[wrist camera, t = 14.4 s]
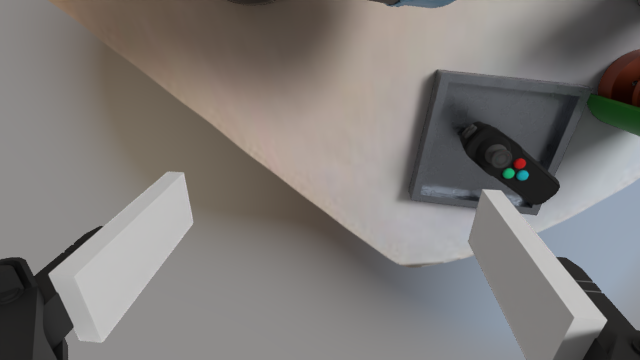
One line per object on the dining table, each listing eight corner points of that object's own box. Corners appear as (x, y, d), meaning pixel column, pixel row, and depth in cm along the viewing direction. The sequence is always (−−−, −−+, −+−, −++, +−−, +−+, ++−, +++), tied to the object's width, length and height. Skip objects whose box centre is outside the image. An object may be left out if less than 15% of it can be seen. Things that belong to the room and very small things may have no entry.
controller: (467, 103, 41) (499, 126, 32) (535, 160, 43) (583, 196, 34) (441, 130, 43) (465, 159, 34) (509, 183, 45) (547, 224, 36)
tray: (437, 69, 41) (442, 72, 38) (579, 84, 40) (592, 88, 38) (408, 191, 48) (411, 199, 46) (527, 206, 47) (536, 215, 45)
